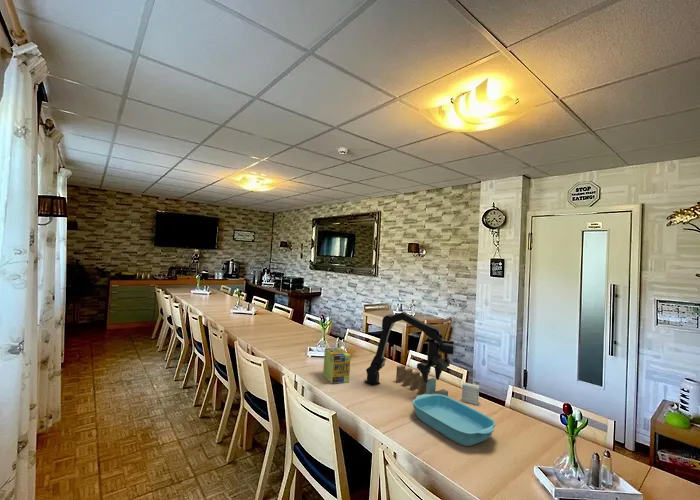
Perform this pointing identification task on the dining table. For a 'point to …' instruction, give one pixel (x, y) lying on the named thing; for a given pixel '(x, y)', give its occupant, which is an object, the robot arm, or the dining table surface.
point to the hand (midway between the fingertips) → (431, 381)
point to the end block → (441, 392)
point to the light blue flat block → (431, 386)
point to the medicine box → (470, 393)
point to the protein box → (336, 365)
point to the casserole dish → (453, 419)
